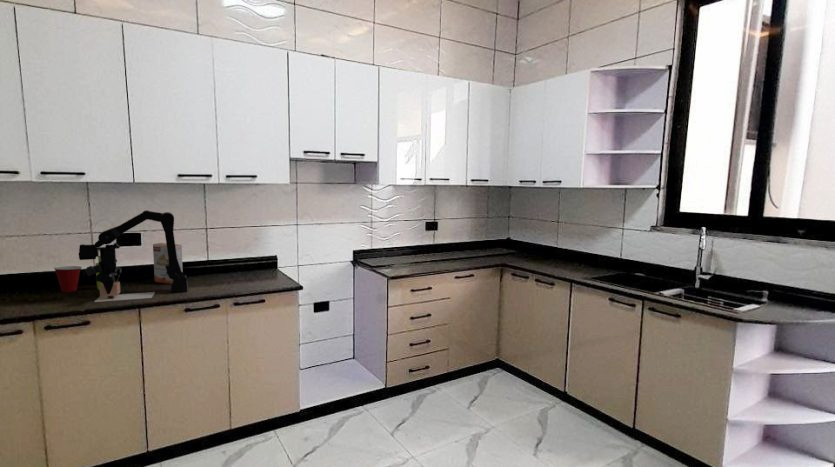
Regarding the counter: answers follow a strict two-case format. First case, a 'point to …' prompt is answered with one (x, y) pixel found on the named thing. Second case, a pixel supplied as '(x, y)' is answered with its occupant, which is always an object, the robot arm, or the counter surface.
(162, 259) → the cracker box
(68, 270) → the plastic cup
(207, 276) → the counter surface
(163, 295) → the counter surface
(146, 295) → the base plate
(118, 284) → the pink hollow square block
